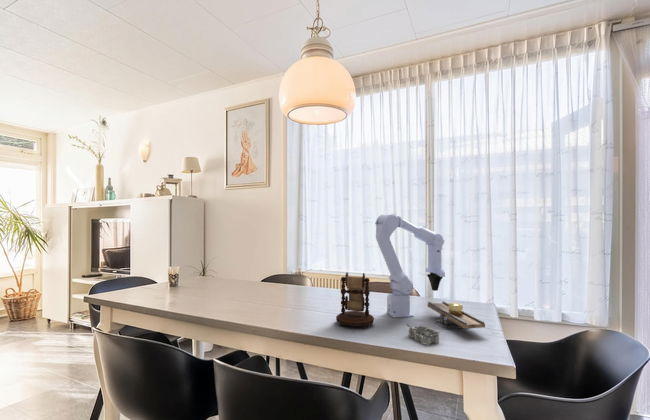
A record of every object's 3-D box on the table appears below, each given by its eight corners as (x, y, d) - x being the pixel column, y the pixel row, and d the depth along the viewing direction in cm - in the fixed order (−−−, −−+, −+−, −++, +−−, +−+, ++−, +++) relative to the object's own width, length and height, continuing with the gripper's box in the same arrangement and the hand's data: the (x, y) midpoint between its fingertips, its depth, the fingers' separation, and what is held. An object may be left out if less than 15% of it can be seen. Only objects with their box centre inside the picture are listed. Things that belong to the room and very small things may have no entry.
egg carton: (405, 335, 115) (405, 323, 115) (423, 333, 117) (423, 321, 117) (423, 346, 104) (423, 333, 105) (442, 343, 107) (442, 331, 107)
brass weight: (454, 316, 121) (454, 306, 122) (446, 312, 126) (446, 303, 126) (465, 315, 123) (465, 305, 123) (456, 311, 128) (456, 302, 128)
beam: (463, 328, 112) (463, 322, 112) (427, 306, 139) (427, 301, 139) (485, 327, 113) (485, 321, 113) (444, 305, 140) (444, 301, 140)
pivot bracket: (445, 328, 121) (445, 316, 121) (435, 322, 129) (435, 311, 129) (472, 327, 123) (472, 315, 123) (460, 321, 130) (460, 310, 131)
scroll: (375, 319, 132) (375, 270, 133) (371, 331, 118) (371, 276, 118) (340, 317, 136) (340, 269, 136) (332, 328, 121) (332, 274, 122)
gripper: (451, 261, 139) (451, 293, 139) (435, 258, 153) (435, 286, 153) (436, 262, 138) (436, 294, 138) (421, 258, 153) (421, 287, 152)
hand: (434, 290), depth 145 cm, fingers closed
